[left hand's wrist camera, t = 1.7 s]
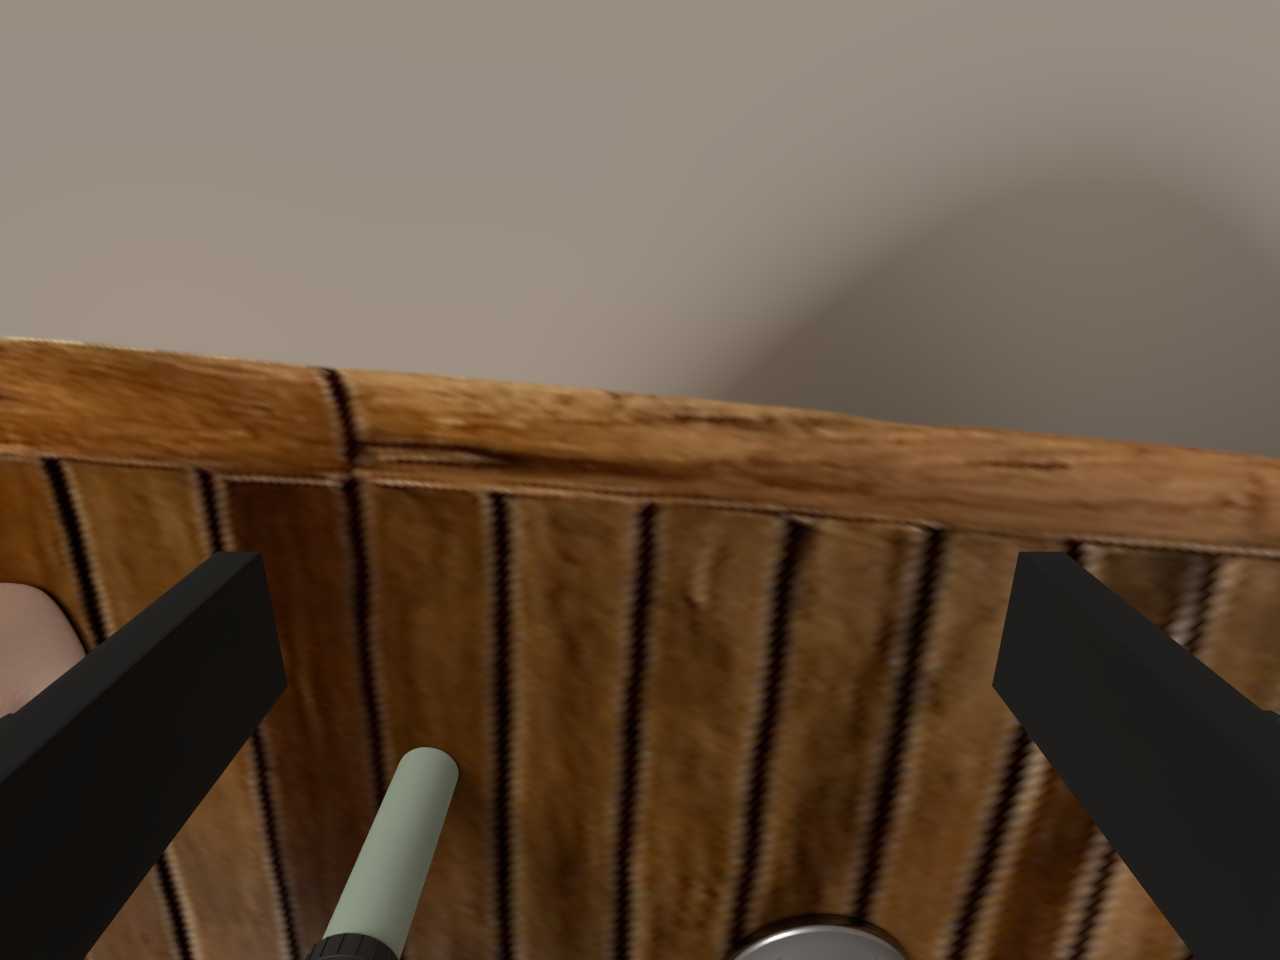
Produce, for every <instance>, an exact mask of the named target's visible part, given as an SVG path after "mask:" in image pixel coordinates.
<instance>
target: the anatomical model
mask: <svg viewBox="0 0 1280 960" xmlns="http://www.w3.org/2000/svg"><path fill="white" fill-rule="evenodd" d="M85 656H86V654H85V651H84V649H83V646H82V644H81V642H80V640H79V639H78V637H77V635H76V633H75V631H74V629H73V628H72V626H71V624H70V623H69V621H68V619H67V618H66V616H65V615H64V613H63V612H62V611H61V609H60V608H59V606H58V605H57V604H56V603H55V602H54V601H53V600H52V599H51V598H50V597H49V596H48V595H47V594H46V593H44V592H43V591H41V590H39V589H37V588H35V587H32V586H29V585H24V584H16V583H0V718H2V717H3V716H5V715H7V714H9V713H15V712H16V711H18V710H19V709H20V708H21V707H23V706H24V705H25V704H27V703H28V702H29V701H30V700H32V699H33V698H34V697H35V696H37V695H38V694H39V693H40V692H42V691H43V690H44V689H45V688H47V687H48V686H49V685H50V684H52V683H53V682H54V681H55V680H57V679H58V678H59V677H60V676H62V675H63V674H64V673H65V672H67V671H68V670H69V669H70V668H72V667H73V666H74V665H75V664H77V663H78V662H79V661H80V660H82V659H83V658H84V657H85Z"/></svg>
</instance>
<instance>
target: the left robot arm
mask: <svg viewBox="0 0 1280 960" xmlns="http://www.w3.org/2000/svg"><path fill="white" fill-rule="evenodd" d="M287 686H288V685H287V680H286V675H285V670H284V665H283V659H282V654H281V649H280V644H279V639H278V634H277V629H276V624H275V619H274V614H273V609H272V604H271V599H270V594H269V589H268V584H267V579H266V574H265V569H264V564H263V559H262V554H261V552H216V553H215V554H213V555H212V556H211V557H210V558H208V559H207V560H206V561H205V562H203V563H202V564H201V565H200V566H198V567H197V568H196V569H195V570H193V571H192V572H191V573H190V574H188V575H187V576H186V577H185V578H183V579H182V580H181V581H180V582H178V583H177V584H176V585H175V586H173V587H172V588H171V589H170V590H168V591H167V592H166V593H165V594H163V595H162V596H161V597H159V598H158V599H157V600H156V601H154V602H153V603H152V604H151V605H149V606H148V607H147V608H146V609H144V610H143V611H142V612H141V613H139V614H138V615H137V616H136V617H134V618H133V619H132V620H131V621H129V622H128V623H127V624H126V625H124V626H123V627H122V628H121V629H119V630H118V631H117V632H116V633H114V634H113V635H112V636H111V637H109V638H108V639H107V640H106V641H104V642H103V643H102V644H101V645H99V646H98V647H97V648H96V649H94V650H93V651H92V652H90V653H89V654H88V655H87V656H85V657H84V658H83V659H82V660H80V661H79V662H78V663H77V664H75V665H74V666H73V667H72V668H70V669H69V670H68V671H67V672H65V673H64V674H63V675H62V676H60V677H59V678H58V679H57V680H55V681H54V682H53V683H52V684H50V685H49V686H48V687H47V688H45V689H44V690H43V691H42V692H40V693H39V694H38V695H37V696H35V697H34V698H33V699H32V700H30V701H29V702H28V703H27V704H25V705H24V706H23V707H21V708H20V709H19V710H18V711H16V712H15V713H9V714H7V715H5V716H3V717H2V718H0V960H83V959H84V958H85V956H86V955H87V954H88V952H89V951H90V950H91V948H92V947H93V946H94V944H95V943H96V941H97V940H98V939H99V937H100V936H101V935H102V933H103V932H104V931H105V929H106V928H107V927H108V925H109V924H110V923H111V921H112V920H113V919H114V917H115V916H116V915H117V913H118V912H119V911H120V909H121V908H122V907H123V905H124V904H125V903H126V901H127V900H128V899H129V897H130V896H131V895H132V893H133V892H134V891H135V889H136V888H137V887H138V885H139V884H140V883H141V881H142V880H143V879H144V877H145V876H146V875H147V873H148V872H149V871H150V869H151V868H152V867H153V865H154V864H155V863H156V861H157V860H158V859H159V857H160V856H161V855H162V853H163V852H164V851H165V849H166V848H167V847H168V845H169V844H170V843H171V841H172V840H173V838H174V837H175V836H176V834H177V833H178V832H179V830H180V829H181V828H182V826H183V825H184V824H185V822H186V821H187V820H188V818H189V817H190V816H191V814H192V813H193V812H194V810H195V809H196V808H197V806H198V805H199V804H200V802H201V801H202V800H203V798H204V797H205V796H206V794H207V793H208V792H209V790H210V789H211V788H212V786H213V785H214V784H215V782H216V781H217V780H218V778H219V777H220V776H221V774H222V773H223V772H224V770H225V769H226V768H227V766H228V765H229V764H230V762H231V761H232V760H233V758H234V757H235V756H236V754H237V753H238V752H239V750H240V749H241V748H242V746H243V745H244V744H245V742H246V741H247V740H248V738H249V737H250V735H251V734H252V733H253V731H254V730H255V729H256V727H257V726H258V725H259V723H260V722H261V721H262V719H263V718H264V717H265V715H266V714H267V713H268V711H269V710H270V709H271V707H272V706H273V705H274V703H275V702H276V701H277V699H278V698H279V697H280V695H281V694H282V693H283V691H284V690H285V689H286V687H287ZM992 686H993V687H994V689H995V690H996V691H997V693H998V694H999V695H1000V697H1001V698H1002V699H1003V701H1004V702H1005V703H1006V705H1007V706H1008V707H1009V709H1010V710H1011V711H1012V713H1013V714H1014V715H1015V717H1016V718H1017V719H1018V721H1019V722H1020V723H1021V725H1022V726H1023V727H1024V729H1025V730H1026V731H1027V733H1028V734H1029V736H1030V737H1031V738H1032V740H1033V741H1034V742H1035V744H1036V745H1037V746H1038V748H1039V749H1040V750H1041V752H1042V753H1043V754H1044V756H1045V757H1046V758H1047V760H1048V761H1049V762H1050V764H1051V765H1052V766H1053V768H1054V769H1055V770H1056V772H1057V773H1058V774H1059V776H1060V777H1061V778H1062V780H1063V781H1064V782H1065V784H1066V785H1067V786H1068V788H1069V789H1070V790H1071V792H1072V793H1073V794H1074V796H1075V797H1076V798H1077V800H1078V801H1079V802H1080V804H1081V805H1082V806H1083V808H1084V809H1085V810H1086V812H1087V813H1088V814H1089V816H1090V817H1091V818H1092V820H1093V821H1094V822H1095V824H1096V825H1097V826H1098V828H1099V829H1100V830H1101V832H1102V833H1103V834H1104V836H1105V837H1106V838H1107V840H1108V841H1109V843H1110V844H1111V845H1112V847H1113V848H1114V849H1115V851H1116V852H1117V853H1118V855H1119V856H1120V857H1121V859H1122V860H1123V861H1124V863H1125V864H1126V865H1127V867H1128V868H1129V869H1130V871H1131V872H1132V873H1133V875H1134V876H1135V877H1136V879H1137V880H1138V881H1139V883H1140V884H1141V885H1142V887H1143V888H1144V889H1145V891H1146V892H1147V893H1148V895H1149V896H1150V897H1151V899H1152V900H1153V901H1154V903H1155V904H1156V905H1157V907H1158V908H1159V909H1160V911H1161V912H1162V913H1163V915H1164V916H1165V917H1166V919H1167V920H1168V921H1169V923H1170V924H1171V925H1172V927H1173V928H1174V929H1175V931H1176V932H1177V933H1178V935H1179V936H1180V937H1181V939H1182V940H1183V941H1184V943H1185V944H1186V946H1187V947H1188V948H1189V950H1190V951H1191V952H1192V954H1193V955H1194V956H1195V958H1196V959H1197V960H1280V715H1279V714H1277V713H1275V712H1273V711H1262V710H1261V709H1260V708H1259V707H1257V706H1256V705H1255V704H1253V703H1252V702H1251V701H1250V700H1248V699H1247V698H1246V697H1245V696H1243V695H1242V694H1241V693H1240V692H1238V691H1237V690H1236V689H1235V688H1233V687H1232V686H1231V685H1230V684H1228V683H1227V682H1226V681H1225V680H1223V679H1222V678H1221V677H1220V676H1218V675H1217V674H1216V673H1215V672H1213V671H1212V670H1211V669H1210V668H1208V667H1207V666H1206V665H1205V664H1203V663H1202V662H1201V661H1200V660H1198V659H1197V658H1196V657H1195V656H1193V655H1192V654H1191V653H1190V652H1188V651H1187V650H1186V649H1184V648H1183V647H1182V646H1181V645H1179V644H1178V643H1177V642H1176V641H1174V640H1173V639H1172V638H1171V637H1169V636H1168V635H1167V634H1166V633H1164V632H1163V631H1162V630H1161V629H1159V628H1158V627H1157V626H1156V625H1154V624H1153V623H1152V622H1151V621H1149V620H1148V619H1147V618H1146V617H1144V616H1143V615H1142V614H1141V613H1139V612H1138V611H1137V610H1136V609H1134V608H1133V607H1132V606H1131V605H1129V604H1128V603H1127V602H1126V601H1124V600H1123V599H1122V598H1121V597H1119V596H1118V595H1117V594H1115V593H1114V592H1113V591H1112V590H1110V589H1109V588H1108V587H1107V586H1105V585H1104V584H1103V583H1102V582H1100V581H1099V580H1098V579H1097V578H1095V577H1094V576H1093V575H1092V574H1090V573H1089V572H1088V571H1087V570H1085V569H1084V568H1083V567H1082V566H1080V565H1079V564H1078V563H1077V562H1075V561H1074V560H1073V559H1072V558H1070V557H1069V556H1068V555H1067V554H1065V553H1064V552H1019V554H1018V559H1017V564H1016V569H1015V574H1014V579H1013V584H1012V589H1011V594H1010V599H1009V604H1008V609H1007V614H1006V619H1005V624H1004V629H1003V634H1002V639H1001V644H1000V649H999V654H998V659H997V664H996V670H995V675H994V680H993V685H992ZM724 960H909V959H908V957H907V955H906V953H905V952H904V950H903V949H902V947H901V946H900V945H899V944H898V943H897V941H895V940H894V939H893V938H892V937H891V936H890V935H888V934H887V933H886V932H884V931H882V930H881V929H879V928H877V927H875V926H873V925H871V924H869V923H866V922H863V921H861V920H857V919H853V918H849V917H844V916H836V915H807V916H799V917H793V918H789V919H785V920H781V921H778V922H775V923H772V924H770V925H767V926H765V927H762V928H761V929H759V930H757V931H755V932H753V933H751V934H750V935H748V936H747V937H745V938H744V939H743V940H741V941H740V942H739V943H738V944H737V945H736V946H734V947H733V948H732V949H731V951H730V952H729V953H728V954H727V955H726V957H725V958H724Z"/></svg>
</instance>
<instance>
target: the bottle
mask: <svg viewBox="0 0 1280 960" xmlns="http://www.w3.org/2000/svg"><path fill="white" fill-rule="evenodd" d="M457 780H458V768H457V765H456V763H455V761H454V760H453V759H452V758H451V757H450V756H449V755H448V754H447V753H445V752H443V751H441V750H439V749H436V748H431V747H421V748H416V749H414V750H411V751H409V752H408V753H407V754H405V755H404V756H403V758H402V759H401V761H400V763H399V765H398V768H397V770H396V772H395V775H394V777H393V779H392V781H391V784H390V786H389V788H388V790H387V793H386V795H385V797H384V800H383V802H382V804H381V806H380V809H379V811H378V813H377V816H376V818H375V820H374V822H373V825H372V827H371V829H370V832H369V834H368V836H367V838H366V841H365V843H364V845H363V848H362V850H361V852H360V854H359V857H358V859H357V861H356V863H355V866H354V868H353V870H352V873H351V875H350V877H349V879H348V882H347V884H346V886H345V889H344V891H343V893H342V895H341V898H340V900H339V902H338V905H337V907H336V909H335V911H334V914H333V916H332V918H331V921H330V923H329V925H328V927H327V930H326V932H325V934H324V936H323V939H324V938H326V937H327V936H328V937H329V936H332V935H335V934H341V933H357V934H363V935H367V936H370V937H373V938H375V939H377V940H379V941H381V942H383V943H384V944H386V945H387V946H388V947H389V948H390V949H392V951H393V952H394V953H395V954H396V956H397V958H398V960H399V959H400V956H401V953H402V950H403V947H404V944H405V941H406V938H407V935H408V931H409V928H410V925H411V922H412V919H413V916H414V913H415V910H416V907H417V904H418V900H419V897H420V894H421V891H422V888H423V885H424V882H425V879H426V876H427V873H428V870H429V866H430V863H431V860H432V857H433V854H434V851H435V848H436V845H437V842H438V839H439V835H440V832H441V829H442V826H443V823H444V820H445V817H446V814H447V811H448V808H449V804H450V801H451V798H452V795H453V792H454V789H455V786H456V783H457ZM323 939H322V940H323Z"/></svg>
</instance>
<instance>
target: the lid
mask: <svg viewBox="0 0 1280 960" xmlns="http://www.w3.org/2000/svg"><path fill="white" fill-rule="evenodd" d="M305 960H398V958H397V956H396V954H395V953H394V952H393V951H392V949H390V948H389V947H388V946H387V945H386V944H384V943H383V942H381V941H379V940H377V939H375V938H373V937H370V936H367V935H363V934H357V933H341V934H335V935H332V936H329V937H328V936H327V937H326V938H324V939H323V940H321V941H320V942H318V943H317V944H314V946H313V948H312V950H311V952H310V954H308V955H307V957H306V959H305Z"/></svg>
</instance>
